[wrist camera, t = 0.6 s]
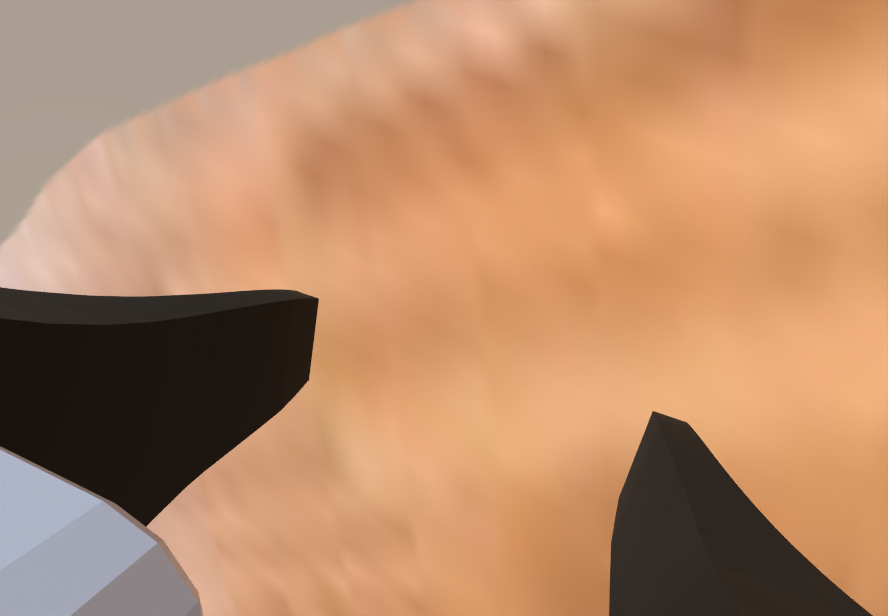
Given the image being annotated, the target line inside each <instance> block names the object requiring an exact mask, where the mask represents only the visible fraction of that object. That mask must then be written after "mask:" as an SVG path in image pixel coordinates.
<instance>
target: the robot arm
mask: <svg viewBox="0 0 888 616" xmlns="http://www.w3.org/2000/svg"><path fill="white" fill-rule="evenodd" d="M318 301H319V299H318V298H315V297H312V296H309V295H306V294H303V293H301V292H298V291H293V290H253V291H238V292H224V293H210V294H193V295H172V296H148V297H120V296H87V295H73V294H61V293H48V292H36V291H25V290H16V289H8V288H1V287H0V616H203V612H202V607H201V603H200V598H199V594H198V591H197V589H196V588H195V586H194V585H193V583H192V582H191V580H190V579H189V578H188V576H187V575H186V573H185V572H184V570H183V569H182V567H181V566H180V564H179V563H178V561H177V560H176V558H175V557H174V555H173V554H172V552H171V551H170V549H169V548H168V546H167V545H166V543H165V542H164V540H163V539H161V538H160V537H159V536H157V535H156V534H155V533H153V532H152V531H151V530H149V529H148V528H147V527H146V526H147V525H148V524H149V523H150V522H151V521H152V520H153V519H154V518H155V517H156V516H157V515H158V514H159V513H160V512H161V511H162V510H163V509H164V508H165V507H166V506H167V505H168V504H169V503H170V502H171V501H172V500H173V499H174V498H175V497H176V496H177V495H178V494H179V493H181V492H182V491H183V490H184V489H185V488H186V487H187V486H188V485H189V484H190V483H191V482H192V481H194V480H195V479H196V478H197V477H198V476H199V475H201V474H202V473H203V472H204V471H205V470H207V469H208V468H209V467H210V466H212V465H213V464H214V463H216V462H217V461H218V460H219V459H221V458H222V457H223V456H224V455H226V454H227V453H228V452H229V451H231V450H232V449H233V448H235V447H236V446H237V445H238V444H240V443H241V442H242V441H243V440H245V439H246V438H247V437H249V436H250V435H251V434H252V433H254V432H255V431H256V430H257V429H259V428H260V427H261V426H262V425H264V424H265V423H266V422H267V421H269V420H270V419H271V418H272V417H273V416H275V415H276V414H277V413H278V412H279V411H281V410H282V409H283V408H284V407H285V406H286V405H287V403H288V402H289V401H290V400H291V399H292V398H293V397H294V396H295V395H296V394H297V393H298V392H299V390H300V389H301V388H302V387H303V386H304V385H305V384H306V383H307V381H308V380H309V374H310V366H311V358H312V350H313V342H314V333H315V325H316V317H317V309H318ZM609 616H872V615H871V614H870V613H869V612H868V611H866V610H865V609H864V608H863V607H861V606H860V605H859V604H858V603H856V602H855V601H854V600H853V599H851V598H850V597H849V596H848V595H847V594H845V593H844V592H843V591H842V590H841V589H840V588H838V587H837V586H836V585H835V584H834V583H833V582H831V581H830V580H829V579H828V578H827V577H826V576H825V575H824V574H822V573H821V572H820V571H819V570H818V569H817V568H816V567H815V566H814V565H813V564H812V563H811V562H810V561H809V560H808V559H806V558H805V557H804V556H803V555H802V554H801V553H800V552H799V551H798V550H797V549H796V548H795V547H794V546H793V545H792V544H791V543H790V542H789V541H788V540H787V539H786V538H785V537H784V536H783V535H782V534H781V533H780V532H779V531H778V530H777V529H776V528H775V527H774V526H773V525H772V524H771V523H770V522H769V521H768V519H767V518H766V517H765V516H764V515H763V514H762V513H761V512H760V511H759V510H758V509H757V507H756V506H755V505H754V504H753V503H752V502H751V501H750V500H749V498H748V497H747V496H746V495H745V494H744V493H743V491H742V490H741V489H740V488H739V487H738V485H737V484H736V483H735V482H734V481H733V479H732V478H731V477H730V476H729V474H728V473H727V472H726V471H725V469H724V468H723V467H722V466H721V464H720V463H719V462H718V460H717V459H716V458H715V457H714V455H713V454H712V453H711V451H710V450H709V449H708V447H707V446H706V445H705V444H704V442H703V441H702V440H701V438H700V437H699V436H698V435H697V433H696V432H695V431H694V430H693V429H692V427H691V426H690V425H689V424H688V423H687V422H684V421H681V420H678V419H675V418H672V417H669V416H666V415H663V414H660V413H657V412H654V411H653V412H652V415H651V417H650V420H649V422H648V425H647V428H646V430H645V433H644V435H643V438H642V440H641V443H640V445H639V448H638V451H637V453H636V456H635V458H634V461H633V463H632V466H631V468H630V471H629V474H628V476H627V479H626V481H625V484H624V486H623V489H622V492H621V494H620V497H619V501H618V506H617V512H616V518H615V523H614V530H613V536H612V542H611V568H610V607H609Z"/></svg>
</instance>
